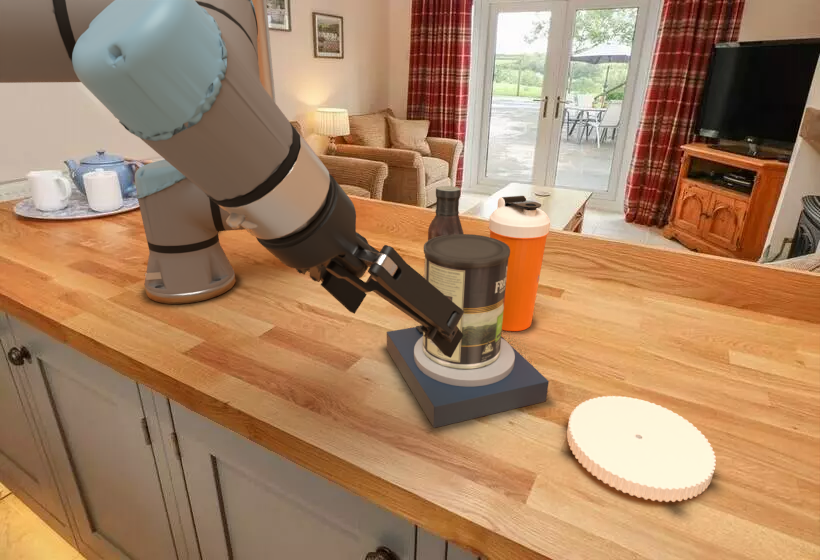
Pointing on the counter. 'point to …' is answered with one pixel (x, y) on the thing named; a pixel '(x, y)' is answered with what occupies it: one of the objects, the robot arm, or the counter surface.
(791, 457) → the counter surface
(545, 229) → the shaker bottle
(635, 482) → the plastic lid
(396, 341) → the kitchen scale
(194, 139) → the robot arm
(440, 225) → the sauce bottle
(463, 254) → the coffee can
